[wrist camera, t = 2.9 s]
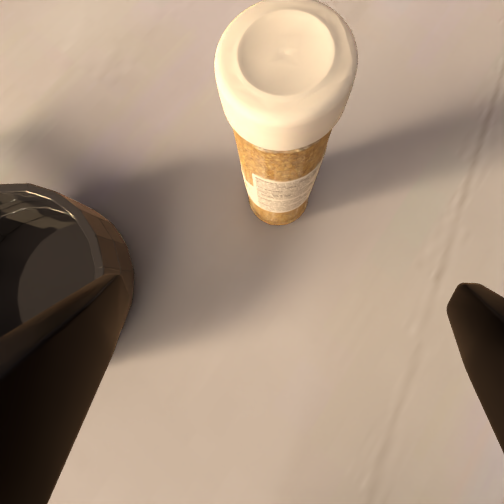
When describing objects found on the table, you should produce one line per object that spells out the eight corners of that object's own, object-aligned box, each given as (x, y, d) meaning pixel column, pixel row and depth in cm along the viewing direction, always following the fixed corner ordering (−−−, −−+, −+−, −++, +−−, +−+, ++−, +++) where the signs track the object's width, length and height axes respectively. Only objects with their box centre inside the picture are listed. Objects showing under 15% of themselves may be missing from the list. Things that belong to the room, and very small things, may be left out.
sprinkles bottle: (253, 167, 23) (224, -17, 9) (312, 173, 22) (369, -10, 9) (244, 223, 22) (199, 112, 9) (304, 231, 22) (354, 127, 8)
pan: (172, 267, 22) (146, 259, 17) (61, 415, 21) (3, 448, 16) (49, 174, 24) (-3, 146, 19) (-58, 306, 23) (-138, 309, 18)
